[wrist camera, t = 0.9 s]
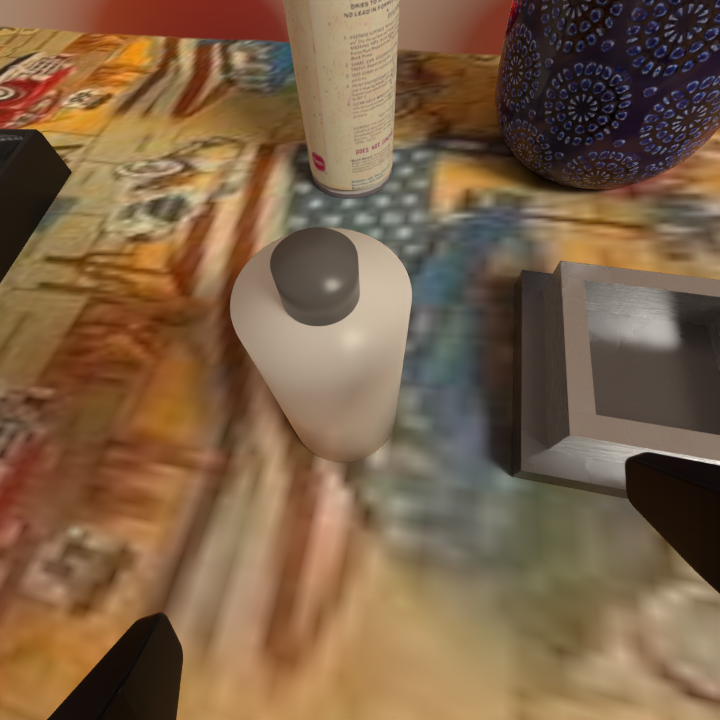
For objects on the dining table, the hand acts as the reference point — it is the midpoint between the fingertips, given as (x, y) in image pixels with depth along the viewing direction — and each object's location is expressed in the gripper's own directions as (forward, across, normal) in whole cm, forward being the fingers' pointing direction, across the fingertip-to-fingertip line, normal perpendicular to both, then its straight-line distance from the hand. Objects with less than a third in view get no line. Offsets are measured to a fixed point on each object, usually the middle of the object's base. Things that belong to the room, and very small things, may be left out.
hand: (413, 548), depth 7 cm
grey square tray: (+13, -16, +6) cm, 21 cm away
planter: (+27, -25, -9) cm, 38 cm away
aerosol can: (+29, -6, -12) cm, 32 cm away
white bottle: (+15, 0, +3) cm, 15 cm away
